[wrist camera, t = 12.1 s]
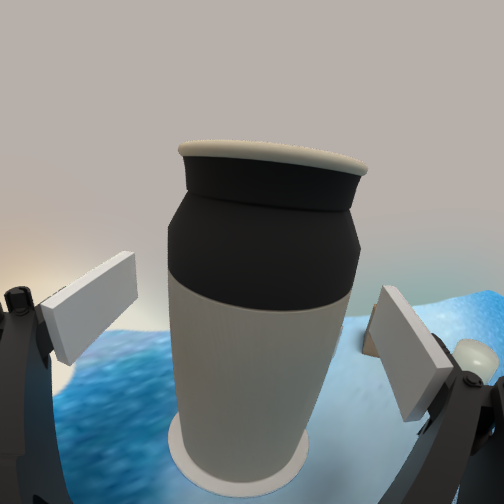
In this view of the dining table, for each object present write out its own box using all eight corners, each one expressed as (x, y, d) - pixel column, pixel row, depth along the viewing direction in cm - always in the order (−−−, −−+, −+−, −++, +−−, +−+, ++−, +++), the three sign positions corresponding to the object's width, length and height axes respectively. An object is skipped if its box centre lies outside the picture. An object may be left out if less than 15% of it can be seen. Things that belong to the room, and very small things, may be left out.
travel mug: (284, 494, 12) (399, 162, 6) (164, 459, 13) (127, 139, 8) (302, 410, 19) (359, 167, 13) (207, 388, 21) (217, 150, 15)
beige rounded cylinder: (447, 357, 26) (458, 333, 25) (485, 372, 22) (498, 348, 21) (439, 385, 21) (453, 359, 20) (483, 403, 17) (499, 377, 16)
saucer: (240, 377, 23) (240, 373, 23) (332, 438, 17) (334, 434, 16) (143, 427, 16) (142, 423, 16) (237, 524, 10) (237, 522, 9)
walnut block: (364, 334, 31) (374, 303, 30) (396, 341, 30) (407, 311, 28) (361, 354, 27) (373, 321, 26) (397, 362, 26) (411, 329, 24)
